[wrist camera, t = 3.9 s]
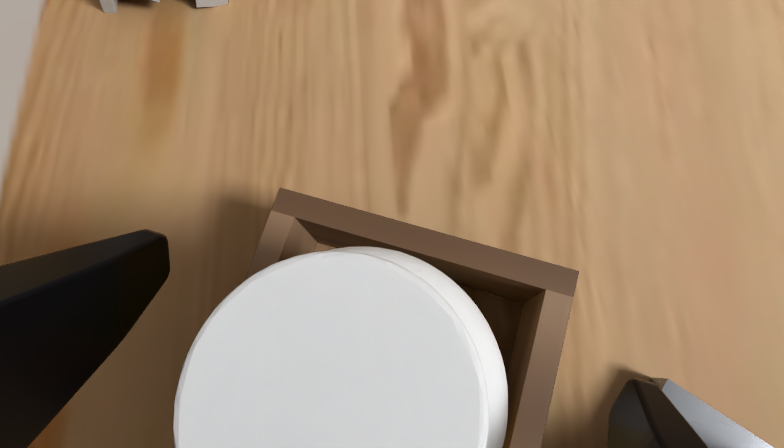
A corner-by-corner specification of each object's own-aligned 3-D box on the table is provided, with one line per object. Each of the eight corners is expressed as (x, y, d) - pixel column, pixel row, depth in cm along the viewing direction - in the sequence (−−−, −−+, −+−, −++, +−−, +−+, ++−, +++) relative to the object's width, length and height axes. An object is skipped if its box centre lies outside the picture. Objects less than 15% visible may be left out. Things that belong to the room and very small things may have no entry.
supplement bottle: (290, 306, 16) (109, 231, 7) (454, 279, 16) (497, 165, 7) (309, 487, 15) (112, 705, 5) (489, 459, 15) (604, 630, 5)
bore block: (484, 577, 14) (500, 633, 11) (210, 475, 15) (159, 502, 12) (550, 287, 16) (579, 271, 13) (304, 216, 17) (280, 187, 14)
